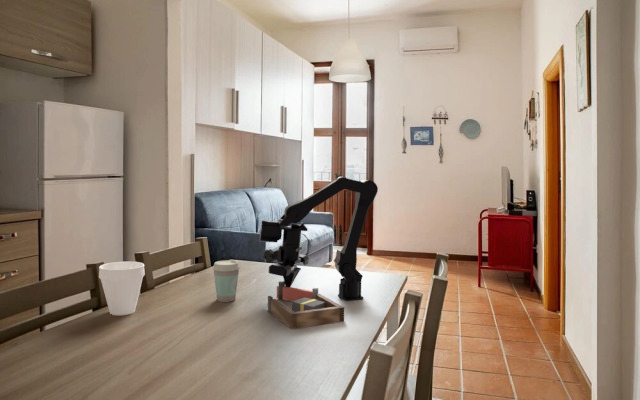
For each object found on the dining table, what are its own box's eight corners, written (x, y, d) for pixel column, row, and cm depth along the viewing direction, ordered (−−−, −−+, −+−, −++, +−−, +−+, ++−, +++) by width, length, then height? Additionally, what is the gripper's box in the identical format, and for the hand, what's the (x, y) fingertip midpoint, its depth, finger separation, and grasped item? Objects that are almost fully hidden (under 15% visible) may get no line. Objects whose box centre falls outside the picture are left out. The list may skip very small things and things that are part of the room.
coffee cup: (233, 304, 149) (233, 265, 148) (208, 302, 151) (208, 264, 150) (243, 296, 158) (243, 260, 157) (219, 295, 159) (219, 259, 158)
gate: (319, 304, 149) (319, 286, 149) (316, 305, 148) (316, 288, 147) (279, 297, 157) (279, 280, 156) (275, 298, 155) (276, 281, 155)
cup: (154, 309, 142) (153, 263, 141) (121, 321, 131) (120, 271, 130) (123, 303, 148) (123, 259, 147) (89, 314, 136) (88, 267, 136)
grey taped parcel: (304, 308, 146) (304, 297, 146) (325, 313, 141) (325, 301, 141) (291, 313, 141) (291, 301, 141) (312, 318, 136) (312, 306, 136)
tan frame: (315, 304, 150) (316, 290, 150) (344, 321, 134) (344, 305, 134) (267, 310, 143) (267, 295, 143) (291, 329, 127) (291, 312, 127)
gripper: (281, 234, 166) (277, 277, 168) (255, 244, 149) (251, 292, 151) (311, 239, 162) (306, 283, 164) (287, 250, 145) (283, 299, 147)
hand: (287, 289), depth 157 cm, fingers closed
